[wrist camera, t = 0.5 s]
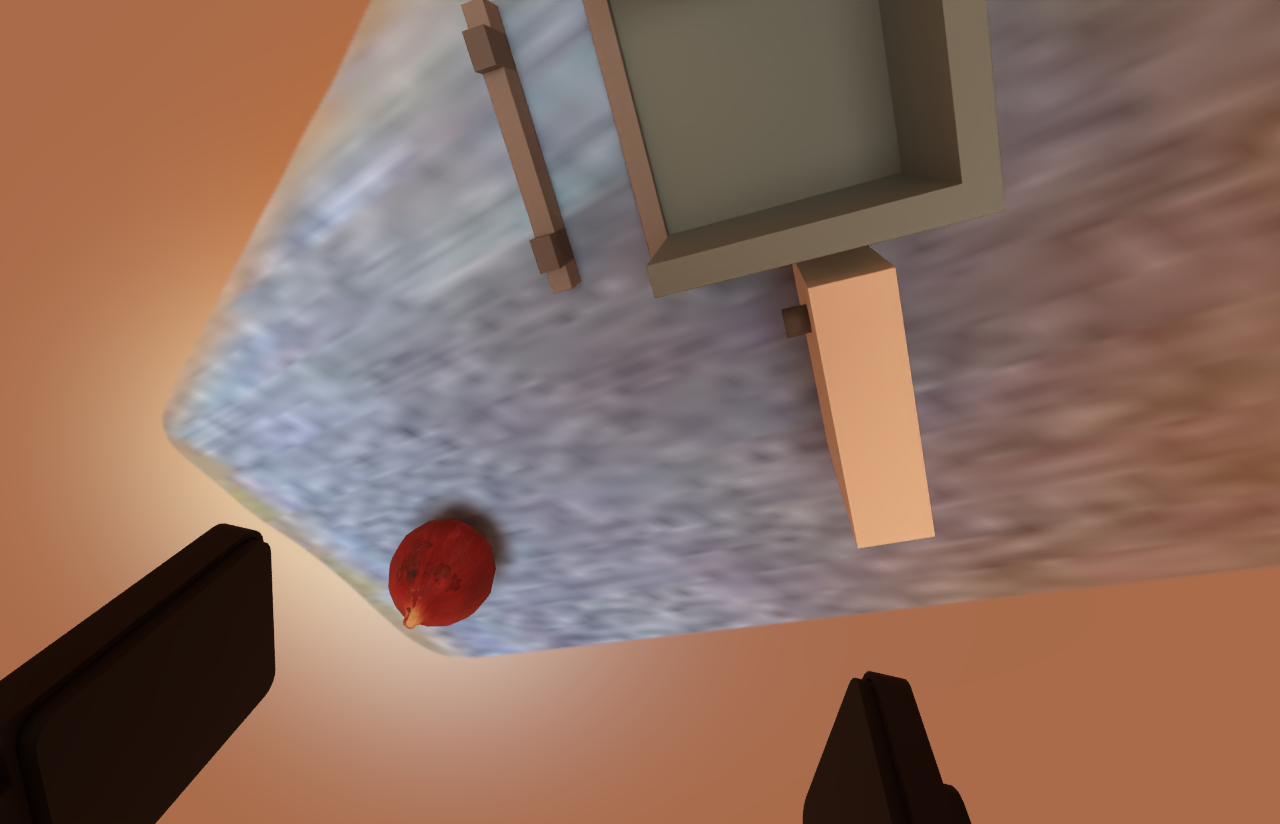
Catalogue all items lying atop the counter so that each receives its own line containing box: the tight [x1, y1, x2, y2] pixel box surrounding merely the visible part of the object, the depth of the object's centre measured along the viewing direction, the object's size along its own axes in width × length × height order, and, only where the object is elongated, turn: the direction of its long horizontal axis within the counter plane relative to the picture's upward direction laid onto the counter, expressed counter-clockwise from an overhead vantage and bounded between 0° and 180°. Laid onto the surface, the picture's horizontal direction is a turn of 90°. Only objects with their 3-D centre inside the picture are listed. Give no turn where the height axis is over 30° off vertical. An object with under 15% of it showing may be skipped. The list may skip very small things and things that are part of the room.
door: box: [782, 245, 935, 548], centre depth 30 cm, size 4×11×10 cm, turn 16°
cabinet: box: [461, 0, 1005, 298], centre depth 27 cm, size 18×13×10 cm
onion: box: [388, 519, 496, 629], centre depth 38 cm, size 6×6×8 cm
